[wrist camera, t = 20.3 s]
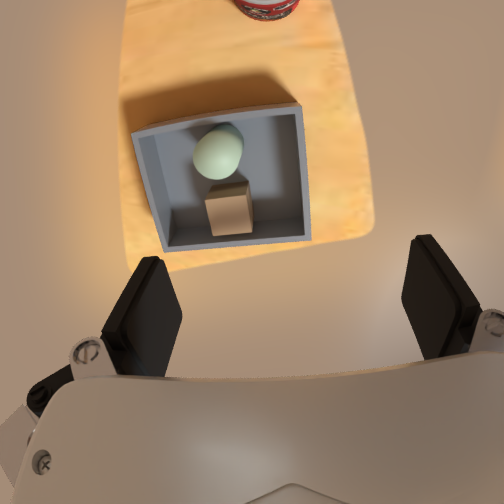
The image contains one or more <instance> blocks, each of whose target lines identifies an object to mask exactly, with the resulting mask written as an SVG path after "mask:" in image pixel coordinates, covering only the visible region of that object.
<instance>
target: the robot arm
mask: <svg viewBox="0 0 504 504" xmlns="http://www.w3.org/2000/svg"><path fill="white" fill-rule="evenodd" d="M401 299H402V304H403V307H404V309H405V311H406V314H407V316H408V319H409V321H410V324H411V326H412V329H413V331H414V334H415V336H416V339H417V341H418V344H419V346H420V349H421V352H422V355H423V357H424V361H418V362H412V363H406V364H400V365H394V366H387V367H381V368H373V369H366V370H358V371H349V372H340V373H331V374H319V375H307V376H291V377H272V378H232V379H229V378H226V379H225V378H224V379H223V378H222V379H218V378H217V379H216V378H214V379H213V378H177V377H165V373H166V370H167V366H168V363H169V360H170V357H171V353H172V350H173V347H174V344H175V340H176V337H177V334H178V331H179V327H180V324H181V321H182V311H181V308H180V305H179V303H178V300H177V297H176V294H175V292H174V289H173V286H172V283H171V280H170V277H169V274H168V271H167V268H166V265H165V263H164V261H163V260H162V259H160V258H159V257H158V256H150V257H143V258H142V259H141V261H140V263H139V264H138V266H137V268H136V270H135V271H134V273H133V275H132V276H131V278H130V280H129V282H128V283H127V285H126V287H125V289H124V290H123V292H122V294H121V296H120V297H119V299H118V301H117V303H116V305H115V306H114V308H113V310H112V312H111V314H110V316H109V318H108V319H107V321H106V323H105V325H104V327H103V329H102V331H101V332H102V335H101V337H100V338H98V337H87V338H85V339H82V340H81V341H79V342H78V343H77V344H76V345H75V346H74V347H73V348H72V350H71V352H70V355H69V361H70V364H69V365H67V366H65V367H64V368H62V369H60V370H59V371H57V372H55V373H54V374H52V375H50V376H49V377H47V378H45V379H43V380H42V381H40V382H38V383H37V384H35V385H34V386H33V387H32V388H31V390H30V391H29V393H28V395H27V405H26V406H24V405H23V404H22V405H21V406H20V407H19V408H18V409H17V410H16V411H15V412H14V413H13V414H12V415H11V416H10V417H9V418H8V419H7V420H6V421H5V422H4V423H3V424H2V425H1V426H0V464H1V466H2V468H3V470H4V472H5V473H6V475H7V477H8V479H9V480H10V482H11V484H12V485H13V487H14V491H13V495H12V499H11V503H10V504H504V312H502V311H500V310H496V309H487V310H484V311H482V309H481V307H480V303H479V302H478V300H477V298H476V297H475V295H474V294H473V292H472V291H471V289H470V288H469V286H468V285H467V283H466V282H465V280H464V279H463V277H462V276H461V274H460V273H459V272H458V270H457V269H456V267H455V266H454V264H453V263H452V262H451V260H450V259H449V257H448V256H447V255H446V253H445V252H444V251H443V249H442V248H441V247H440V245H439V244H438V243H437V242H436V240H435V239H434V238H433V237H432V235H431V234H426V235H417V236H416V238H415V239H413V240H412V241H411V246H410V252H409V258H408V264H407V269H406V275H405V280H404V285H403V291H402V296H401Z"/></svg>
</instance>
